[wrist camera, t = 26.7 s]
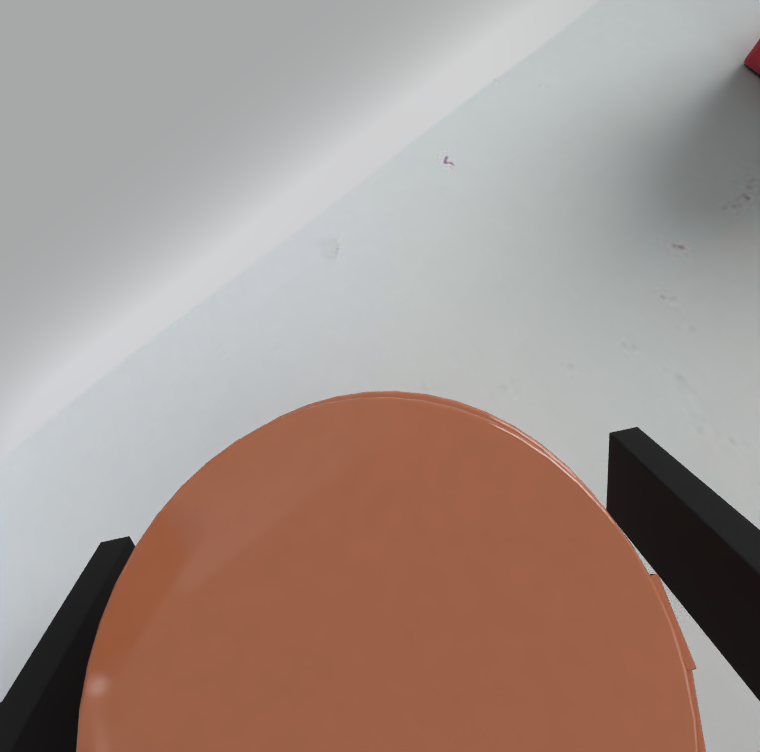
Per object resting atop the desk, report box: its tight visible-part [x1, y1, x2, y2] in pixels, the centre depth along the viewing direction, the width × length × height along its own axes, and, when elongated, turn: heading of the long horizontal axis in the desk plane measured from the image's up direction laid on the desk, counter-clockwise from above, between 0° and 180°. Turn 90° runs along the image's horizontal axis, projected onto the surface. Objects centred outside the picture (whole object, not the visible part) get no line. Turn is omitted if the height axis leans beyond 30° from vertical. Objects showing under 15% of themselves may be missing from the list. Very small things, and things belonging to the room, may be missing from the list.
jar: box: [76, 391, 706, 752], centre depth 11 cm, size 8×8×12 cm
